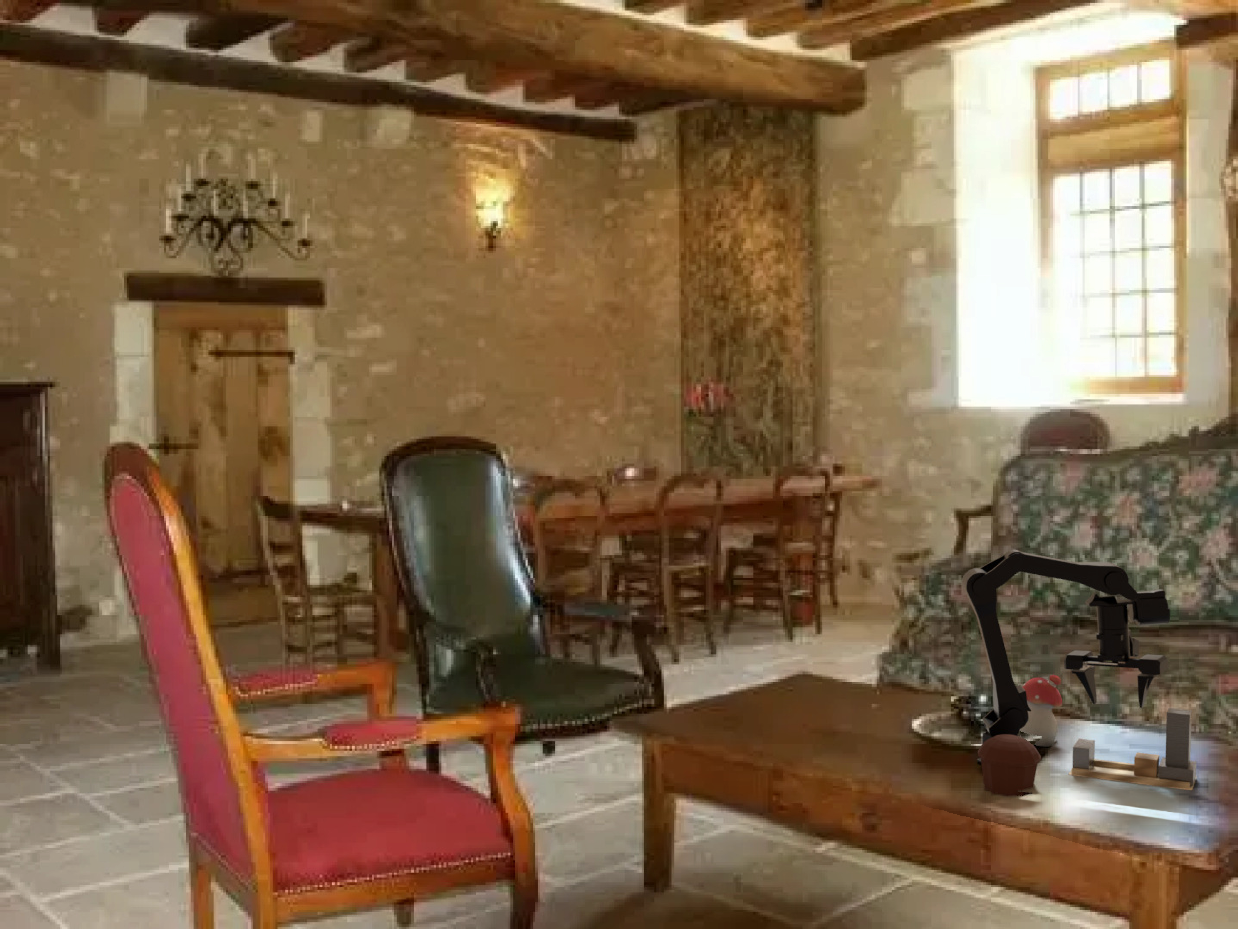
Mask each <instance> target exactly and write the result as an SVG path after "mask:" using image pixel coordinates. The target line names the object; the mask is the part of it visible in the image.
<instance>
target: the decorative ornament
mask: <svg viewBox="0 0 1238 929" xmlns="http://www.w3.org/2000/svg"><path fill="white" fill-rule="evenodd" d="M1061 684H1062V679H1061V677H1059V676H1058V675H1056V674H1050V676H1049V678H1048V679H1047V678H1043V677H1032V678H1030V679H1029V680H1027V681H1026V682H1025V683H1024V684H1022V685H1021V686H1022V687H1023V689H1024V690H1025V691H1026V695H1027V704H1028V706H1029V708H1030V709H1031V712H1030V711H1028V716H1029V719H1028V722H1027V723H1026V725H1025V726H1024V727H1023V728H1021V729H1020V730H1019V732H1020V731H1021V732H1024V733H1027V734H1031V735H1032V734H1033V735H1037V736H1042V739H1040V740H1039V741H1037V742H1036V743H1035V745H1036V746H1035V747H1053V745H1054V744H1055V740H1056V737H1057V735H1058V734H1057V733H1058V723H1057V720H1056V717H1055V715H1054V713H1053V710H1052V709H1053V708H1060V707H1062V706H1063V698H1062V696H1061V693H1060V691H1059V689H1057V686H1059V685H1061Z"/></svg>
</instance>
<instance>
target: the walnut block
mask: <svg viewBox="0 0 1238 929" xmlns="http://www.w3.org/2000/svg"><path fill="white" fill-rule="evenodd" d="M1133 764H1134V775H1135V776H1143V777H1151V778H1158V776H1159V765H1160V754H1154V753H1144V752H1136V754H1135V756H1134V762H1133Z"/></svg>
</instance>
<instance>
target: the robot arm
mask: <svg viewBox="0 0 1238 929" xmlns="http://www.w3.org/2000/svg"><path fill="white" fill-rule="evenodd" d="M1018 573H1026V574H1031V575H1036V576H1037V575H1038V576H1043V577H1047V578H1052V579H1058V580H1063V581H1068V582H1075V583H1077V584H1081V585H1083V586H1086V587H1089V588H1090V589H1093V590H1096V591H1099V592H1101V593H1104V594H1106V595H1103V596H1102V595H1101V596H1099V594H1097V593H1096V592H1092V594H1091V596H1090V597H1089V598H1087V599H1086V600H1085V604H1086V605H1087V606H1089V607H1090V608H1091V607H1092V608H1093V607H1096V617H1097V619H1096V620H1097V633H1096V637H1095V638H1096V640H1098V653H1099V654H1097V655H1095V656H1094V654H1093V652H1092V651H1090V650H1073V651H1071V652H1069V653H1068V654H1066V655H1065V656H1064V659H1063V665H1064V670H1071V671H1070V672H1071V674H1072V675H1076V677H1077V679H1078V680H1079V681H1080V683H1081V684H1082V686H1083V688H1084V689H1085V692H1086V693H1087V696H1088V697H1089V699H1090V701H1091V703H1092V704H1093V705H1096V704H1097V702H1098V701H1097V687H1096V680H1095V671H1096V667H1110V668H1125V669H1126V668H1127V669H1128V668H1129V669H1138V671H1139V672H1140V674H1137V693H1138V694H1137V696H1138V698H1137V699H1138V705H1139V708H1140V709H1143V708H1144V706H1145V703H1146V699H1147V696H1148V693H1149V690H1150V687H1151V683H1152V682H1153V680H1154V679H1156V678H1157V677H1158V676H1160V675H1162V674H1163V673H1165V672H1166V671H1168V670H1169V661H1168V660H1169V659H1168V658H1167V657H1166V656H1165V655H1163V654H1149V653H1147V654H1145V655H1142V656H1141V657H1140V642H1141V641H1140V640H1138V639H1136V638H1134V637H1133V636H1132V630H1131V629H1130V628H1129V620H1130V621H1131V622H1135V624H1136V625H1137V626H1138V627H1139V626H1140V627H1141V626H1142V627H1143V626H1154V625H1155V626H1157V625H1158V626H1159V625H1168V624H1169V623H1170V619H1171V610H1170V607H1169V604H1168V599H1167V598H1166V592H1165V590H1164V589H1162V588H1157V589H1153V590H1143V591H1137V589H1135V588H1134V587H1133V586H1132V585H1131V584H1130V583H1129V577H1128V573H1127V572H1126V571H1125V570H1124V568H1122V567H1120V566H1118V565H1116V563H1113V562H1109V561H1086V562H1080V561H1070V560H1066V559H1062V558H1056V557H1055V558H1054V557H1049V556H1044V555H1039V554H1034V553H1029V552H1024V551H1020V550H1017V549H1010V550H1008V551H1006V553H1004V554H1003V555H1001V556H1000V557H997V558H995V559H993V560H991V561H989V562H988V563H986V564H984V565H983V566H981V567H978V568H977V567H975V568H971V569H969V570H967V571H966V572H965V573H964V575H963V577H962V579H961V585H962V588H963V591H964V593H965V595H966V597H967V600H968V602H969V604H970V606H971V608H972V610H973V612H974V614H975V616H976V620H977V624H978V627H979V632H980V636H981V639H982V642H983V647H984V650H985V651H984V652H985V654H986V659H987V662H988V667H989V668H988V669H989V671H990V672H989V673H990V676H991V678H992V705H993V708H992V709H991V710H990V711H988V713H987V714H985V716H983V717H982V720H981V721H983V725H984V728H985V729H986V730H987V731H985V732H983V733H982V744H983V743H984V742H985V741H986V740H988V739H990V738H992V737H994V736H996V735H1003V734H1010V735H1015V736H1019V733H1020V729H1021V728H1023V727H1024V726H1025V725H1026V723H1027V722H1028V719H1029V716H1028V711H1030V712H1031V709H1030V708H1029V706H1028V704H1027V695H1026V691H1025V690H1024V689H1023V687H1022V686H1023V685H1021V684H1019V685H1016V684H1015V681H1014V678H1013V674H1012V670H1011V666H1010V662H1009V659H1008V654H1007V650H1006V647H1005V643H1004V639H1003V633H1002V631H1001V626H1000V623H999V617H998V614H997V613H998V612H997V611H998V610H997V609H998V596H997V589H998V588H1001V587H1002V586H1003V585H1005V584H1006V583H1007V582H1008V581H1009V580H1011V579H1012V578H1013V577H1014V576H1016V574H1018ZM1117 595H1120V596H1121V597H1123V598H1124V599H1117V598H1116V596H1117ZM1139 657H1140V658H1139ZM976 762H978V763H980V764H981V759H980V758H977V759H976Z"/></svg>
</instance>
